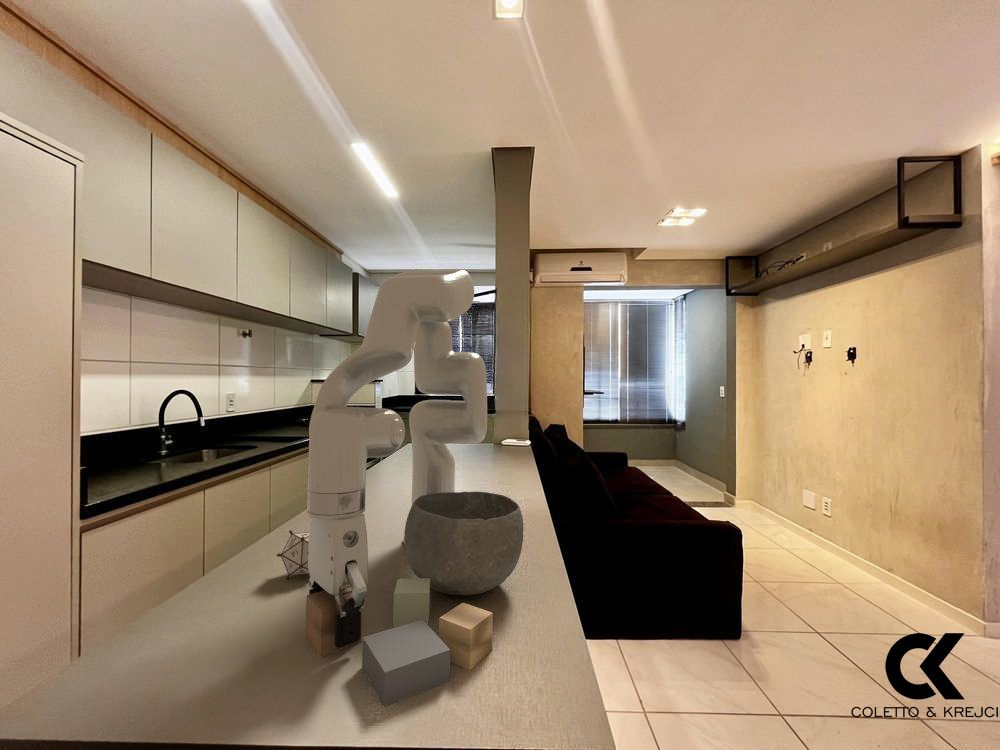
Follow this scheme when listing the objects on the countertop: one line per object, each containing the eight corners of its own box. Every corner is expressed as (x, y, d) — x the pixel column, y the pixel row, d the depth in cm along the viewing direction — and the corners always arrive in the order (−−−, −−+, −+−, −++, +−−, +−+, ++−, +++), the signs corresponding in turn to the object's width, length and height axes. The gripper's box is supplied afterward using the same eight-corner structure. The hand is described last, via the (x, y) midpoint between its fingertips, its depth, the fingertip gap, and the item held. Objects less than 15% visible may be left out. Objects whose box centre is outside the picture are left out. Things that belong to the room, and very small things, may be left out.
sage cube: (429, 610, 70) (430, 577, 70) (427, 627, 65) (428, 592, 65) (397, 611, 70) (397, 578, 70) (392, 628, 65) (393, 593, 65)
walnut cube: (344, 625, 65) (345, 583, 65) (361, 642, 61) (362, 597, 61) (305, 639, 61) (306, 595, 62) (320, 658, 57) (321, 610, 58)
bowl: (428, 630, 64) (431, 525, 64) (388, 576, 82) (390, 493, 82) (545, 599, 74) (547, 508, 75) (487, 557, 92) (488, 483, 92)
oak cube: (462, 638, 62) (462, 602, 63) (491, 650, 60) (492, 612, 60) (438, 656, 58) (439, 617, 58) (469, 670, 56) (470, 629, 56)
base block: (421, 649, 60) (422, 619, 60) (449, 683, 53) (450, 649, 53) (361, 670, 56) (362, 637, 56) (383, 709, 49) (384, 672, 49)
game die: (306, 599, 80) (304, 568, 75) (267, 578, 82) (263, 545, 76) (338, 559, 87) (339, 528, 82) (303, 540, 89) (301, 508, 84)
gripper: (392, 510, 58) (389, 646, 57) (338, 486, 71) (335, 597, 70) (335, 520, 53) (330, 670, 52) (287, 493, 66) (284, 612, 65)
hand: (333, 628), depth 61 cm, fingers open, 8 cm apart
